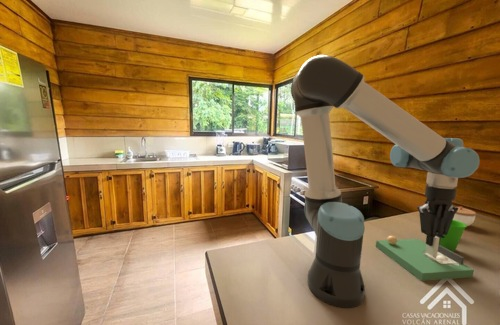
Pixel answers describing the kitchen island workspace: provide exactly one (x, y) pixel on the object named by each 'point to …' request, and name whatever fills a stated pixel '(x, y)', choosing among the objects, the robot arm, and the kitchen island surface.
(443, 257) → the ball
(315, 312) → the kitchen island surface
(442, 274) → the putting mat
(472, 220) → the lidded jar
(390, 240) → the brown egg
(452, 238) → the cup
